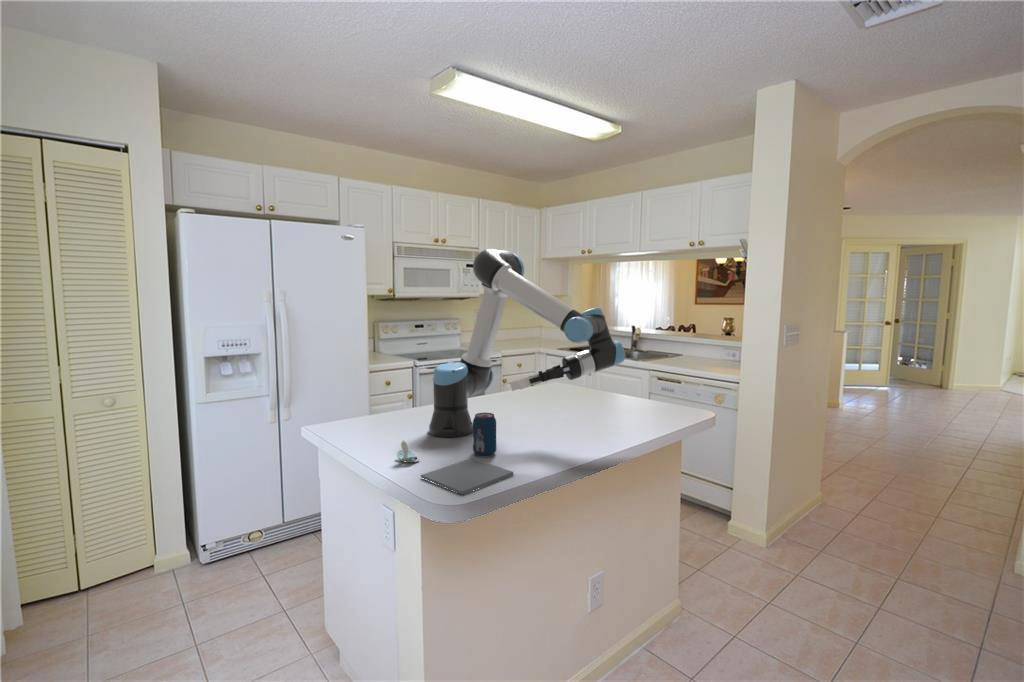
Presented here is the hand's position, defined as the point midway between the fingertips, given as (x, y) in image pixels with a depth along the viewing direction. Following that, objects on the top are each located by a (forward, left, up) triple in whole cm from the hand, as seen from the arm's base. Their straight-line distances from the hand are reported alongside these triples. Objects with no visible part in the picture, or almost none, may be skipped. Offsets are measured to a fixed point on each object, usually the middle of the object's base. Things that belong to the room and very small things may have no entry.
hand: (514, 386), depth 151 cm
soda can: (-3, -10, -20) cm, 22 cm away
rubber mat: (+7, -26, -20) cm, 34 cm away
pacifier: (-15, -29, -20) cm, 38 cm away
